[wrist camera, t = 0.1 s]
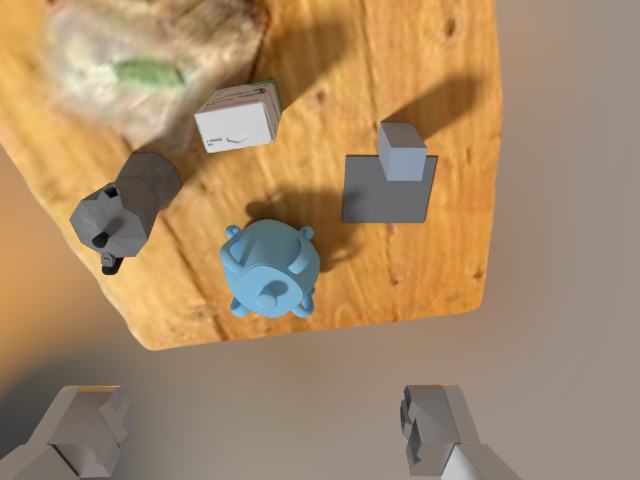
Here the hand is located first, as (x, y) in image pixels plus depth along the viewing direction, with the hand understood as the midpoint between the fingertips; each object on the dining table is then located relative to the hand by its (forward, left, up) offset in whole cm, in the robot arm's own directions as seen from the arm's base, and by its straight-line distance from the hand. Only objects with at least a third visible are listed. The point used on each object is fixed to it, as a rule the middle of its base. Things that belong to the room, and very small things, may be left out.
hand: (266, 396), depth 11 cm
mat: (+18, +13, -48) cm, 53 cm away
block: (+9, +13, -48) cm, 50 cm away
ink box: (+4, -8, -48) cm, 49 cm away
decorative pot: (+30, -6, -48) cm, 57 cm away
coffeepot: (+17, -25, -48) cm, 57 cm away
